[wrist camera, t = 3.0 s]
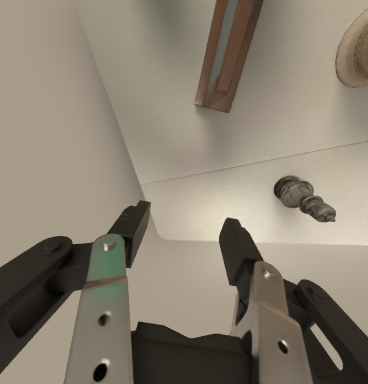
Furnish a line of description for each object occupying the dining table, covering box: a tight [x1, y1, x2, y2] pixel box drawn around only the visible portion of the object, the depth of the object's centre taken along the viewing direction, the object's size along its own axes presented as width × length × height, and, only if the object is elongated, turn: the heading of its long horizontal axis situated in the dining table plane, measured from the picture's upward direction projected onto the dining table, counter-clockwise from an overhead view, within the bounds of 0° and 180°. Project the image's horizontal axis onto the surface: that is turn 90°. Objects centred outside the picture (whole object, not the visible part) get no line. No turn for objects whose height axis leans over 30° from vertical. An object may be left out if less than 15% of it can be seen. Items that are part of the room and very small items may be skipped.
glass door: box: [202, 0, 255, 107], centre depth 16 cm, size 1×11×14 cm, turn 168°
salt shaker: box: [274, 176, 336, 222], centre depth 27 cm, size 6×6×12 cm
